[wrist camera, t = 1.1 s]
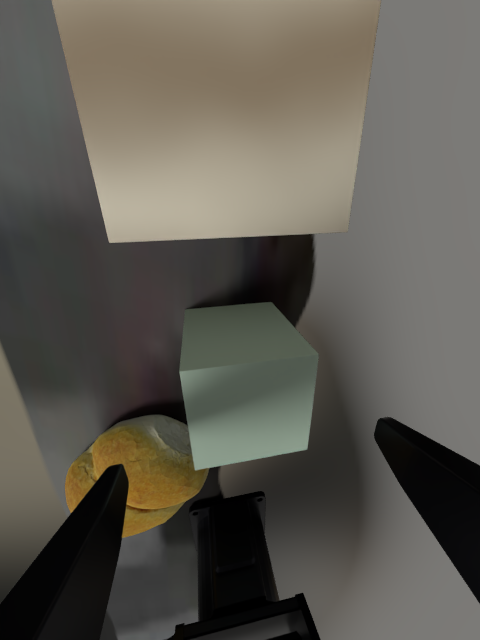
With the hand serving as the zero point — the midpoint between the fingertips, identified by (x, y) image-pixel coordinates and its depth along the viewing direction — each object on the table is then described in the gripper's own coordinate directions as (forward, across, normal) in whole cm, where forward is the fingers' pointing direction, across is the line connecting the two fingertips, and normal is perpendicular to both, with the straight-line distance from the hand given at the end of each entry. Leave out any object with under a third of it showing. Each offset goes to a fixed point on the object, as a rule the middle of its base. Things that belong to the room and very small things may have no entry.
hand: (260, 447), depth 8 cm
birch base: (+7, 0, -11) cm, 13 cm away
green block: (+7, 0, 0) cm, 7 cm away
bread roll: (+8, +7, +8) cm, 13 cm away
